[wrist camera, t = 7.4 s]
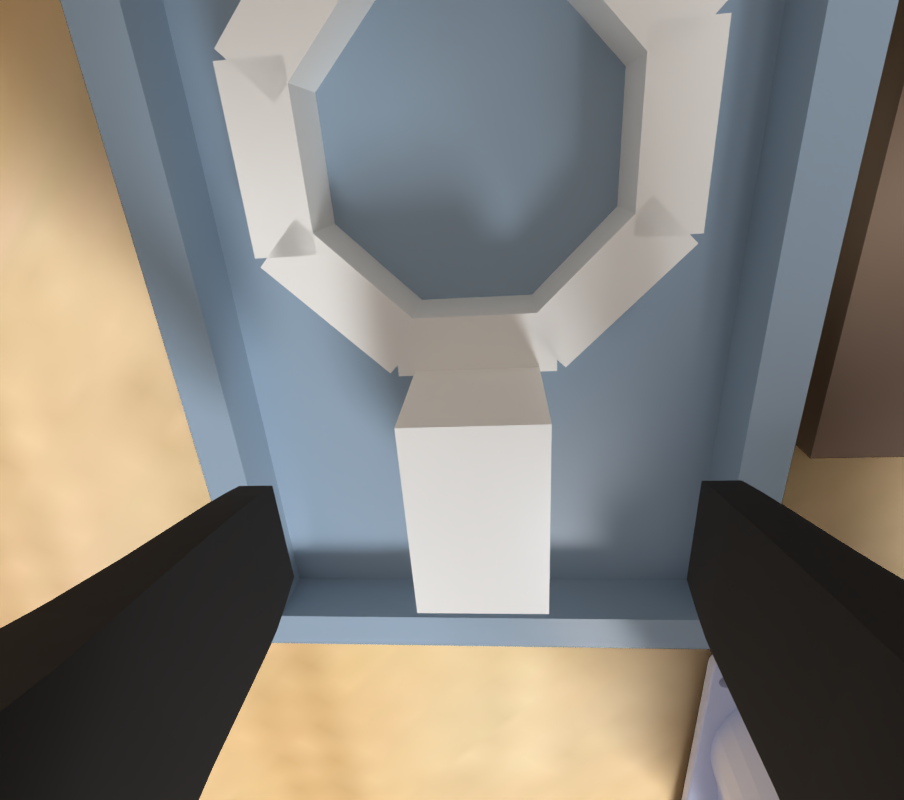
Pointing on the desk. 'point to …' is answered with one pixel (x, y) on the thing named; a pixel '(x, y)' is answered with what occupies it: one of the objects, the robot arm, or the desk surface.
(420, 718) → the desk surface
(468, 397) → the ring
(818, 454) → the stake board
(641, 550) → the tray
